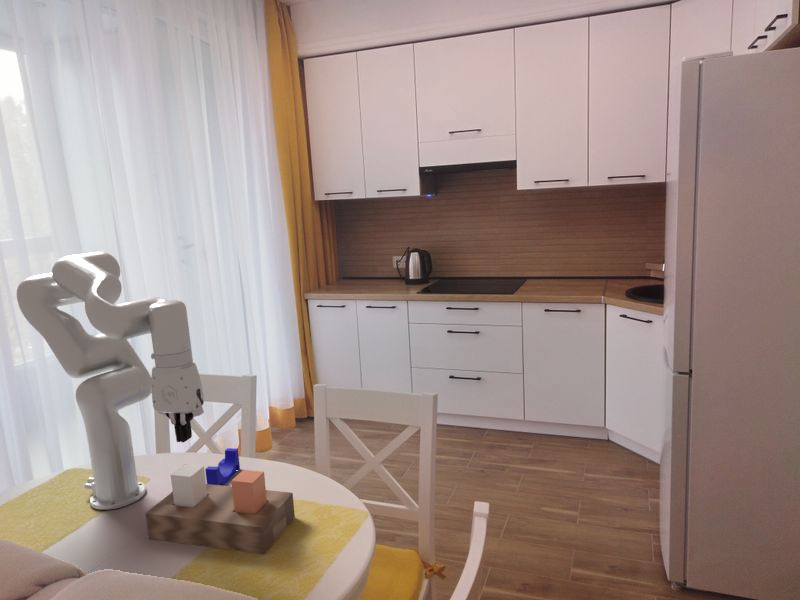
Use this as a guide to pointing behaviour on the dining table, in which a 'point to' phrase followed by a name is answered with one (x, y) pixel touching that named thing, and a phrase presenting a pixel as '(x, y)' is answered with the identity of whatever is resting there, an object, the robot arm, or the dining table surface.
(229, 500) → the button box
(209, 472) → the cable clip
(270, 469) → the dining table surface
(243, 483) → the terracotta plunger
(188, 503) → the white rectangular block
